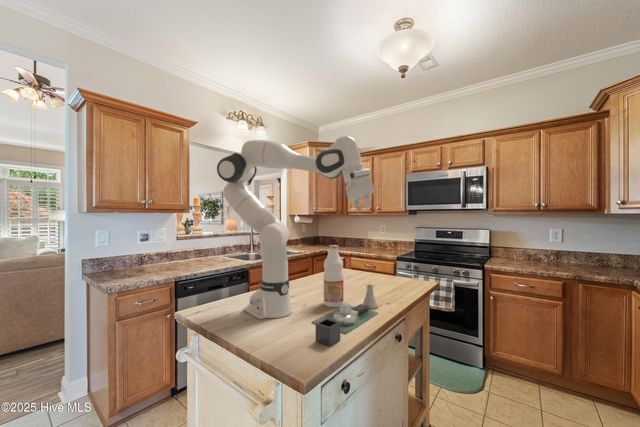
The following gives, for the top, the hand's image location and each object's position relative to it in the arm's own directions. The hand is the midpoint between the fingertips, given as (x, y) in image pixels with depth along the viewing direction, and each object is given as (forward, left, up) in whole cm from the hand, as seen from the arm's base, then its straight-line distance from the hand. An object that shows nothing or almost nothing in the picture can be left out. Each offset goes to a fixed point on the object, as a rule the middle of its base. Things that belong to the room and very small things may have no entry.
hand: (363, 209), depth 108 cm
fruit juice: (-22, +9, -45) cm, 51 cm away
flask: (-7, +17, -45) cm, 49 cm away
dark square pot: (-2, -22, -45) cm, 50 cm away
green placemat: (-8, -1, -45) cm, 45 cm away
